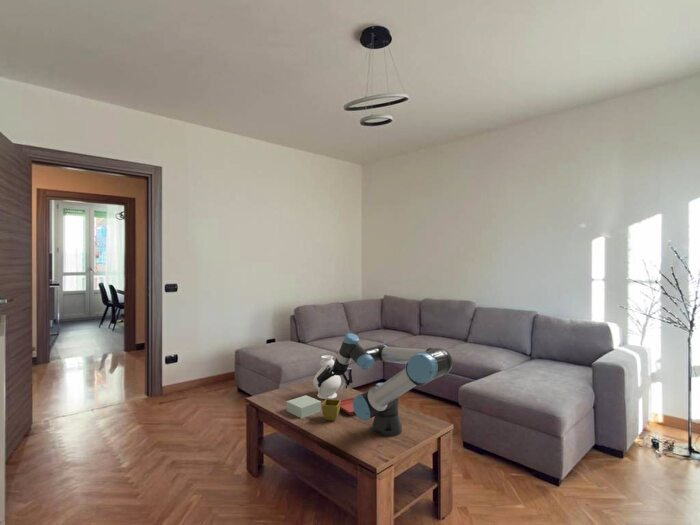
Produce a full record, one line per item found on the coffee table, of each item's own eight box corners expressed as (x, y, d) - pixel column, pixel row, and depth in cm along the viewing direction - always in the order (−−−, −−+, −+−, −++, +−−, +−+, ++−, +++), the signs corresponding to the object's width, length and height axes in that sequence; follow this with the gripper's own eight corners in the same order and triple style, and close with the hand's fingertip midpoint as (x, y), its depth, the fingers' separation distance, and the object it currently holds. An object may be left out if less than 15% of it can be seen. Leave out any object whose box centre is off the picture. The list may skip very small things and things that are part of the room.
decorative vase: (333, 402, 232) (333, 361, 231) (307, 398, 239) (307, 358, 239) (345, 393, 248) (345, 354, 247) (321, 389, 255) (321, 352, 255)
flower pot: (337, 422, 203) (337, 406, 203) (321, 421, 205) (321, 404, 205) (340, 416, 211) (340, 400, 211) (325, 415, 213) (325, 398, 213)
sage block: (321, 411, 218) (321, 401, 218) (301, 418, 209) (301, 408, 209) (305, 405, 228) (305, 395, 228) (286, 411, 219) (286, 401, 219)
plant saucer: (358, 401, 235) (358, 396, 235) (376, 411, 219) (376, 405, 219) (333, 407, 225) (333, 401, 225) (349, 418, 210) (349, 412, 210)
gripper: (361, 357, 207) (348, 387, 214) (319, 354, 196) (307, 385, 204) (366, 366, 200) (353, 397, 208) (322, 363, 190) (310, 396, 197)
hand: (330, 391), depth 206 cm, fingers open, 13 cm apart
